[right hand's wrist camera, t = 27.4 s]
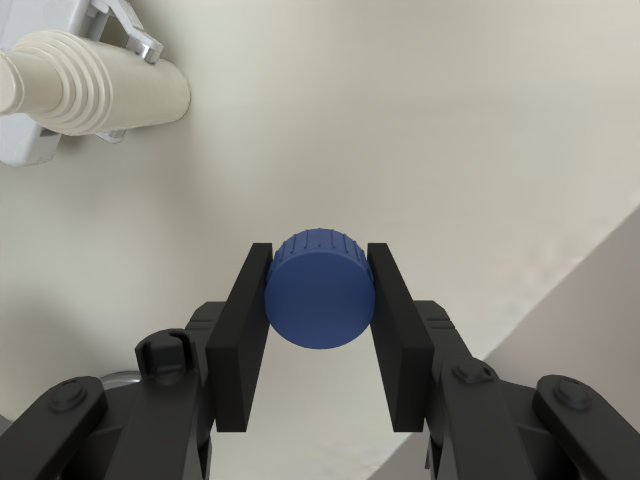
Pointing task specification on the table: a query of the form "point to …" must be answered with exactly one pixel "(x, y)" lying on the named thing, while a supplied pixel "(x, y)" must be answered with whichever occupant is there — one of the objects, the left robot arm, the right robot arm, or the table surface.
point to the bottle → (88, 85)
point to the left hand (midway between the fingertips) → (138, 95)
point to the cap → (319, 290)
